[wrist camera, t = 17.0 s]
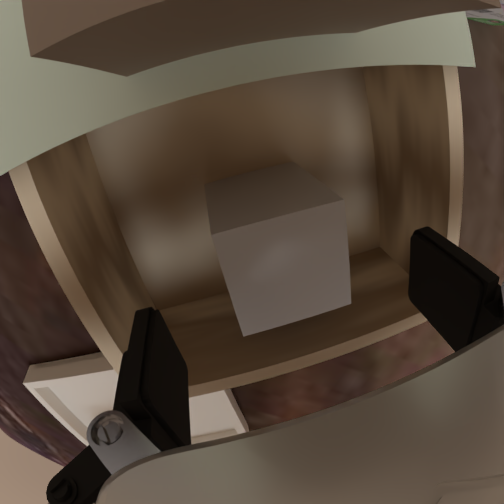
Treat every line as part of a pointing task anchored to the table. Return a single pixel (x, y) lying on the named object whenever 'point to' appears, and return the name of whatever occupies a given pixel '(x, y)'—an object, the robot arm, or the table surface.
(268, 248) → the granite block
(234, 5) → the sage lid
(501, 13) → the ink box
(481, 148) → the table surface
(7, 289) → the table surface
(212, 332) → the birch box
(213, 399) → the white tray
